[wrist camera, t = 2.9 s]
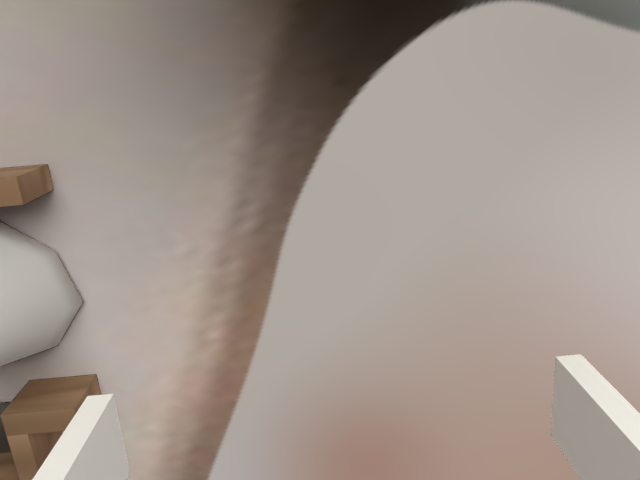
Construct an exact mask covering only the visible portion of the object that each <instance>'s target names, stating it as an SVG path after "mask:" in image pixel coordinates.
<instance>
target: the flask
mask: <svg viewBox="0 0 640 480" xmlns="http://www.w3.org/2000/svg"><path fill="white" fill-rule="evenodd" d="M82 302H83V301H82V299H81V297H80V295H79V293H78V292H77V290H76V288H75V286H74V284H73V282H72V281H71V279H70V277H69V275H68V273H67V272H66V270H65V268H64V266H63V264H62V263H61V261H60V259H59V257H58V255H57V253H56V252H55V251H54V250H52V249H50V248H49V247H47V246H45V245H43V244H41V243H39V242H37V241H36V240H34V239H32V238H30V237H28V236H26V235H25V234H23V233H21V232H19V231H17V230H15V229H13V228H12V227H10V226H8V225H6V224H4V223H2V222H0V366H3V365H5V364H8V363H11V362H13V361H16V360H19V359H22V358H25V357H27V356H30V355H33V354H36V353H39V352H41V351H44V350H47V349H49V348H52V347H54V346H57V345H58V344H59V343H60V341H61V339H62V337H63V336H64V334H65V332H66V330H67V329H68V327H69V325H70V323H71V322H72V320H73V318H74V316H75V315H76V313H77V311H78V309H79V308H80V306H81V304H82Z"/></svg>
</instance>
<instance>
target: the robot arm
mask: <svg viewBox="0 0 640 480" xmlns="http://www.w3.org/2000/svg"><path fill="white" fill-rule="evenodd" d="M553 389H554V390H553V404H552V422H551V436H552V438H553V439H554V441H555V442H556V444H557V445H558V446H559V448H560V449H561V451H562V452H563V454H564V455H565V457H566V458H567V459H568V461H569V462H570V464H571V465H572V467H573V468H574V470H575V471H576V473H577V474H578V476H579V477H580V478H581V480H640V414H639V413H638V412H637V411H636V410H635V409H634V407H633V406H631V405H630V403H629V402H628V401H627V400H626V399H625V398H624V397H623V396H622V395H621V394H620V393H619V392H618V391H617V390H616V389H615V388H614V387H613V386H612V385H611V384H610V383H609V382H607V380H606V379H605V378H604V377H603V376H601V374H600V373H599V372H598V371H597V370H596V369H595V368H594V367H593V366H592V365H591V364H590V363H589V362H588V361H587V360H586V359H585V358H584V357H583V356H582V355H568V356H556V357H555V371H554V388H553ZM129 473H130V468H129V463H128V458H127V454H126V449H125V445H124V440H123V435H122V431H121V426H120V421H119V417H118V412H117V408H116V403H115V398H114V394H105V395H93V396H87V397H86V399H85V401H84V402H83V404H82V405H81V407H80V408H79V410H78V411H77V413H76V414H75V416H74V417H73V419H72V420H71V422H70V423H69V425H68V426H67V428H66V429H65V431H64V432H63V434H62V435H61V437H60V438H59V440H58V441H57V443H56V444H55V446H54V448H53V449H52V451H51V452H50V454H49V455H48V457H47V458H46V460H45V461H44V463H43V464H42V466H41V467H40V469H39V470H38V472H37V473H36V475H35V476H34V478H33V479H32V480H127V477H128V475H129Z"/></svg>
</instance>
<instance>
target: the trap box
mask: <svg viewBox="0 0 640 480" xmlns="http://www.w3.org/2000/svg"><path fill="white" fill-rule="evenodd" d="M52 190H53V185H52V181H51V176H50V172H49V168H48V164H45V165H33V166H20V167H8V168H0V207H5V206H17V205H24V204H26V203H28V202H30V201H32V200H34V199H36V198H38V197H40V196H42V195H44V194H46V193H48V192H50V191H52ZM100 394H101V393H100V389H99V384H98V380H97V376H96V374H94V375H83V376H72V377H60V378H49V379H38V380H29V381H28V383H27V384H26V385H25V386H24V387H23V389H22V390H21V391H20V392H19V393H18V395H17V396H16V397H15V398H14V399H13V400H12V402H5V403H0V480H32V479H33V478H34V476H35V475H36V473H37V472H38V470H39V469H40V467H41V466H42V464H43V463H44V461H45V460H46V458H47V457H48V455H49V454H50V452H51V451H52V449H53V448H54V446H55V444H56V443H57V441H58V440H59V438H60V437H61V435H62V434H63V431H65V429H66V428H67V426H68V425H69V423H70V422H71V420H72V419H73V417H74V416H75V414H76V413H77V411H78V410H79V408H80V407H81V405H82V404H83V402H84V401H85V399H86V397H87V396H93V395H100Z"/></svg>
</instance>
